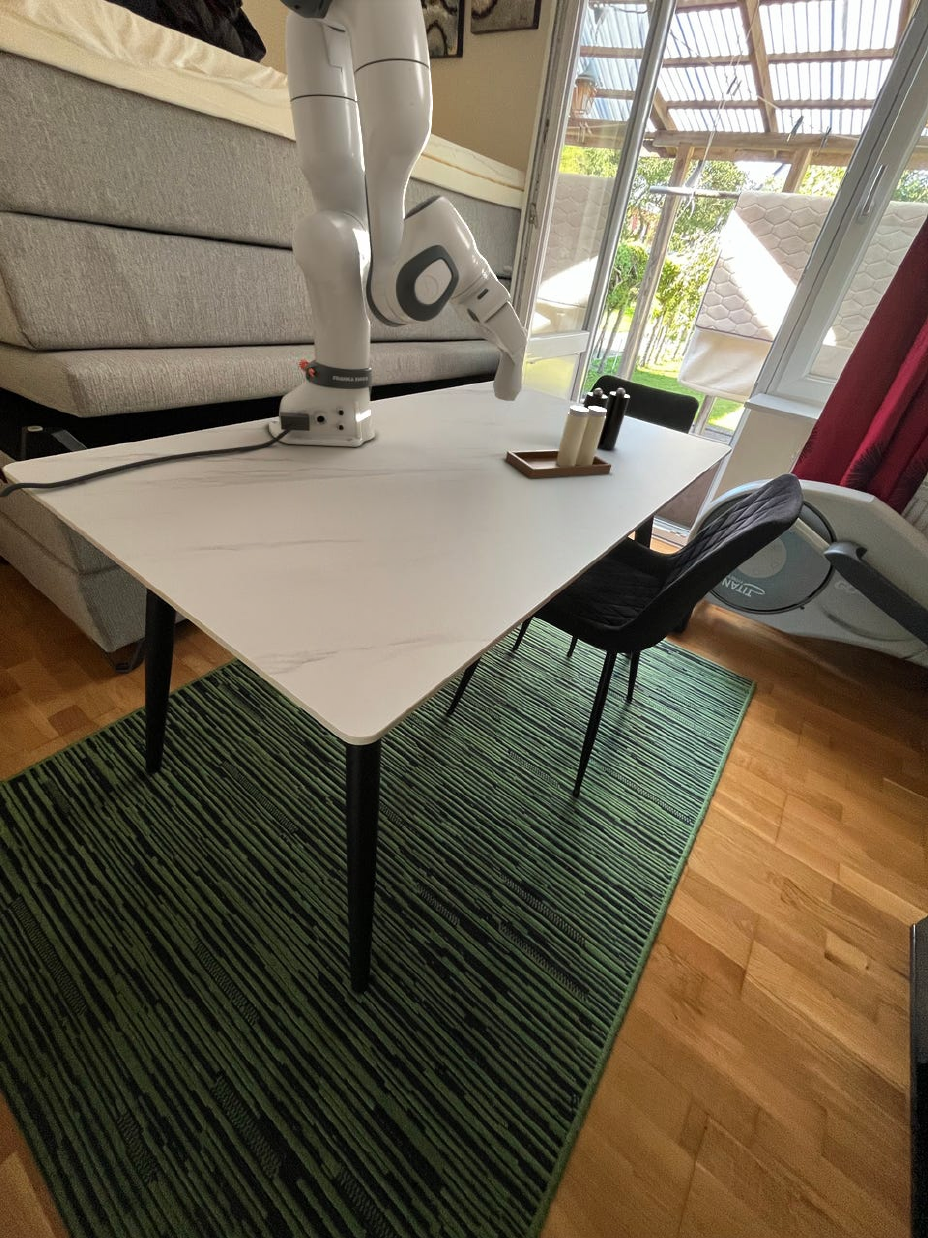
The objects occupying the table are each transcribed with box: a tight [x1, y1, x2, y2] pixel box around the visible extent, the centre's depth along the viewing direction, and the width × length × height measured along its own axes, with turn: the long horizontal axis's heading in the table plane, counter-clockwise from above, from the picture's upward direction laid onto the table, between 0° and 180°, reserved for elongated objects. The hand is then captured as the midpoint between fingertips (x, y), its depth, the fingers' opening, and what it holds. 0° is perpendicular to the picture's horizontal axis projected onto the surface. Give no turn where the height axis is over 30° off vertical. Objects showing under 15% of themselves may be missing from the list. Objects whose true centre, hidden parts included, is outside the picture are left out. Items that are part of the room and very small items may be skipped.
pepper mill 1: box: [582, 387, 609, 409], centre depth 126 cm, size 5×5×14 cm
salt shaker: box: [492, 326, 529, 402], centre depth 102 cm, size 6×6×13 cm
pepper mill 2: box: [597, 387, 631, 451], centre depth 130 cm, size 5×5×14 cm
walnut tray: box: [505, 449, 612, 479], centre depth 116 cm, size 22×11×2 cm, turn 117°
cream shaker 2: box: [576, 406, 607, 466], centre depth 116 cm, size 4×4×12 cm
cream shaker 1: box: [556, 405, 589, 466], centre depth 113 cm, size 4×4×12 cm
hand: (514, 360), depth 101 cm, fingers closed on salt shaker, 3 cm apart
